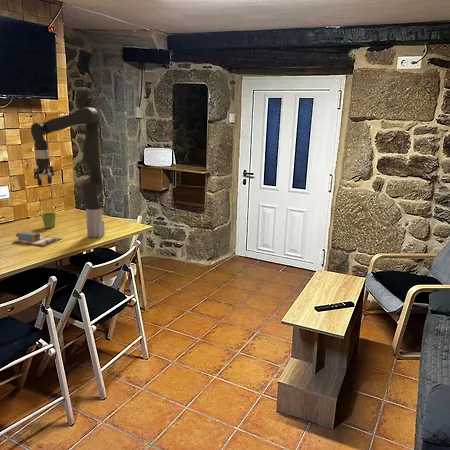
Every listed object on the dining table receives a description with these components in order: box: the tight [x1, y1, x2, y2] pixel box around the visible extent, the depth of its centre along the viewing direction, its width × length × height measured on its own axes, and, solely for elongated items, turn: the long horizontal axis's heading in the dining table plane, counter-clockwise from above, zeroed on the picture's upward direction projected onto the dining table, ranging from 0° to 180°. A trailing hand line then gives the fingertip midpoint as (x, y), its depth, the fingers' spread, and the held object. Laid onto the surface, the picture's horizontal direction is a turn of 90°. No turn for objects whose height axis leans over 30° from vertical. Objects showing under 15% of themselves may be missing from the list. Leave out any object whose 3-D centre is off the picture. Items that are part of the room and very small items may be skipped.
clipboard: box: [14, 235, 62, 247], centre depth 243 cm, size 20×15×2 cm
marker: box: [15, 230, 41, 242], centre depth 243 cm, size 14×4×4 cm, turn 73°
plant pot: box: [40, 212, 57, 229], centre depth 271 cm, size 9×9×9 cm
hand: (45, 184), depth 253 cm, fingers open, 8 cm apart
